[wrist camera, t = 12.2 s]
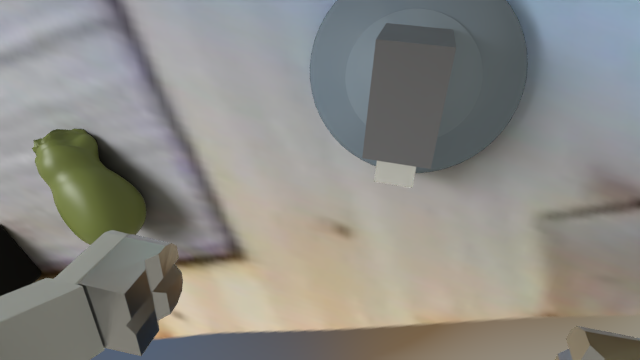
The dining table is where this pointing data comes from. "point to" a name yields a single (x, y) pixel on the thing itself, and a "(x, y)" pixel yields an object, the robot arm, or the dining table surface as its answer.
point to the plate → (465, 80)
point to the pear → (87, 186)
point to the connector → (407, 99)
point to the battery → (14, 266)
